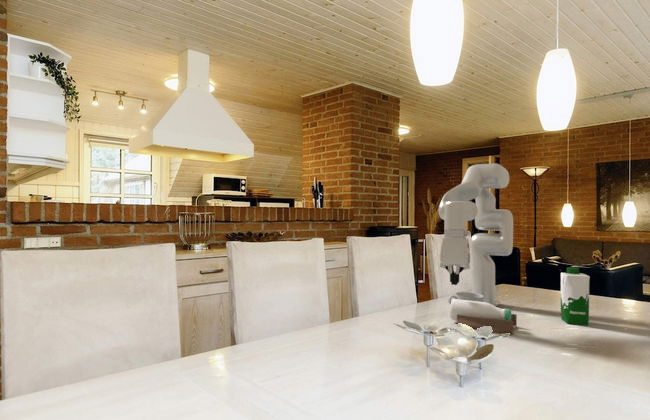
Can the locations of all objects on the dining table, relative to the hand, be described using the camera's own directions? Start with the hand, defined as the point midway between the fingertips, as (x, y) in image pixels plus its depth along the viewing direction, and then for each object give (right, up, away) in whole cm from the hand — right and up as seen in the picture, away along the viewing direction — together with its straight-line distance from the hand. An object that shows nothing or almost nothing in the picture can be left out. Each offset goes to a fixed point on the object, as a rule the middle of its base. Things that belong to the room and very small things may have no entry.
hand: (454, 284), depth 156 cm
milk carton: (+46, -15, +2) cm, 48 cm away
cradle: (+10, -14, -6) cm, 18 cm away
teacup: (+9, -15, +14) cm, 22 cm away
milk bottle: (-1, -10, +1) cm, 10 cm away
